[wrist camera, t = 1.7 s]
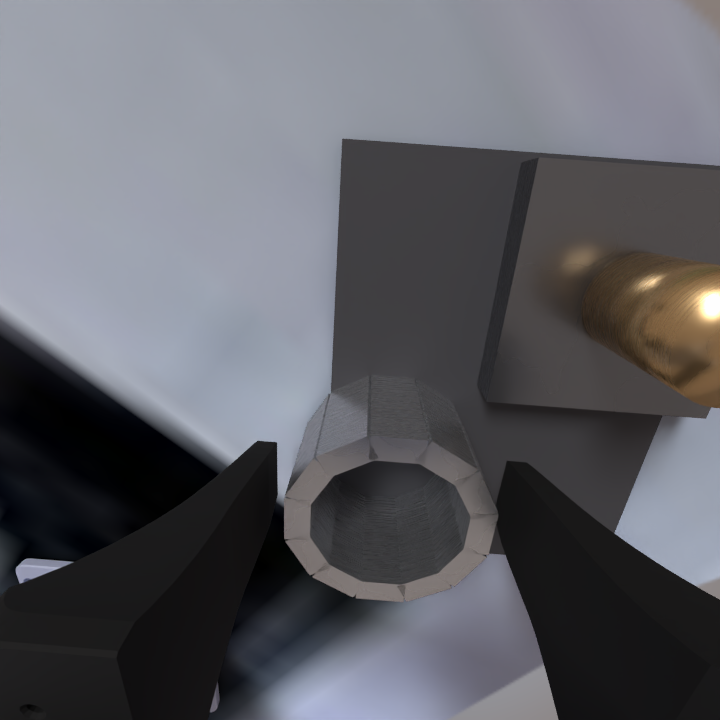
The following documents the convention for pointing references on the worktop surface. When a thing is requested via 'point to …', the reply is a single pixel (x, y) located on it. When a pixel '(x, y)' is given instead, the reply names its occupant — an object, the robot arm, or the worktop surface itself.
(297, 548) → the ring
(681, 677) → the robot arm
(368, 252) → the mat
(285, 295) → the worktop surface
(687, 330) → the doorknob
